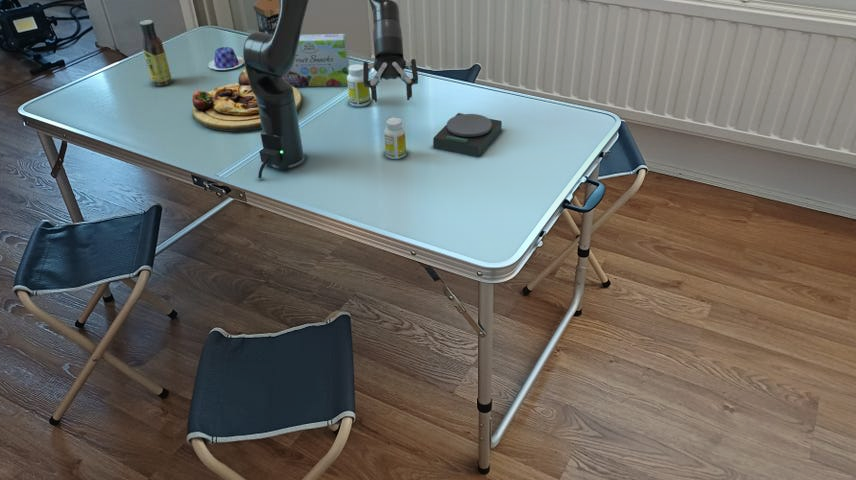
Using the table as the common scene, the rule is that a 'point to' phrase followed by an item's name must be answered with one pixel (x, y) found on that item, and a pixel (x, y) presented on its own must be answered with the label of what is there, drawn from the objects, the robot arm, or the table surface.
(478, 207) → the table surface
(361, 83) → the pill bottle
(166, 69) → the sauce bottle
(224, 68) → the pudding
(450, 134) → the kitchen scale
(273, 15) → the whiskey bottle
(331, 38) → the snack box
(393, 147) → the supplement bottle
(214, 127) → the wooden plate
